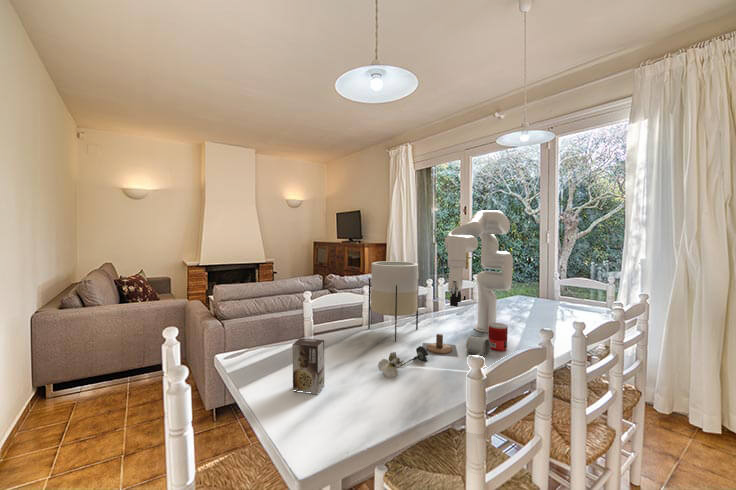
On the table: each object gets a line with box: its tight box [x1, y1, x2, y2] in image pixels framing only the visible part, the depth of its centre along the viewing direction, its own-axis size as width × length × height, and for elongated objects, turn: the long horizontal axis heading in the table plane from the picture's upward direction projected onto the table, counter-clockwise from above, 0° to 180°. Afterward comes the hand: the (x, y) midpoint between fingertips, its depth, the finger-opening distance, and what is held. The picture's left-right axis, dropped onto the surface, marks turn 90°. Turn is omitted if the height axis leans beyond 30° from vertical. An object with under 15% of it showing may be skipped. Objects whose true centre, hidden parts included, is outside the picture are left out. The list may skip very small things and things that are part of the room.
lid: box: [427, 333, 452, 354], centre depth 152 cm, size 11×11×6 cm
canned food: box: [487, 322, 509, 353], centre depth 155 cm, size 8×8×11 cm
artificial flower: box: [377, 345, 429, 378], centre depth 132 cm, size 9×22×10 cm, turn 125°
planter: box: [367, 260, 420, 343], centre depth 175 cm, size 26×27×36 cm
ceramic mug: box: [466, 336, 491, 357], centre depth 147 cm, size 11×8×8 cm
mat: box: [421, 342, 459, 358], centre depth 152 cm, size 15×15×1 cm
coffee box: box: [291, 337, 325, 394], centre depth 114 cm, size 9×6×16 cm
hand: (455, 303), depth 148 cm, fingers open, 9 cm apart
